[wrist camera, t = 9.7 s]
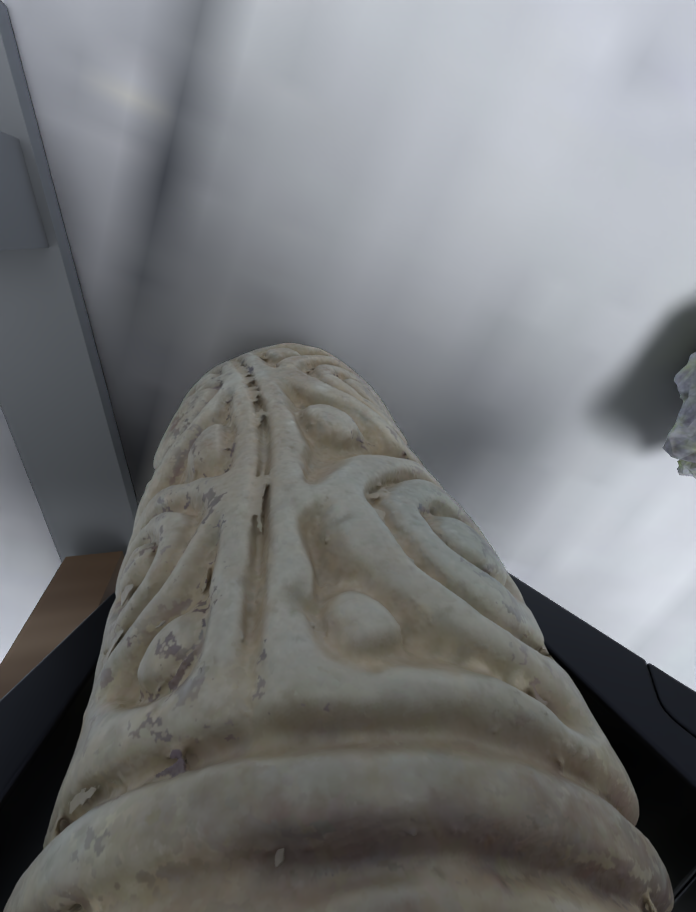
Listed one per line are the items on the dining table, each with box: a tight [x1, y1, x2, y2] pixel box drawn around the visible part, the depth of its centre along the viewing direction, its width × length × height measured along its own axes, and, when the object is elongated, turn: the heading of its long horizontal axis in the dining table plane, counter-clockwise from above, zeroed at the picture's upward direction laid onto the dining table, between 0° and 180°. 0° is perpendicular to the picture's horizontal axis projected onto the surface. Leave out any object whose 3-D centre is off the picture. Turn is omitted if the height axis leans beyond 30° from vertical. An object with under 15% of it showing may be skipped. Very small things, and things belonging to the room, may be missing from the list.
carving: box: [3, 343, 674, 912], centre depth 8 cm, size 6×8×12 cm
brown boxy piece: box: [0, 551, 124, 700], centre depth 14 cm, size 12×7×5 cm, turn 0°
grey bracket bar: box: [0, 0, 138, 562], centre depth 12 cm, size 30×2×6 cm, turn 0°
